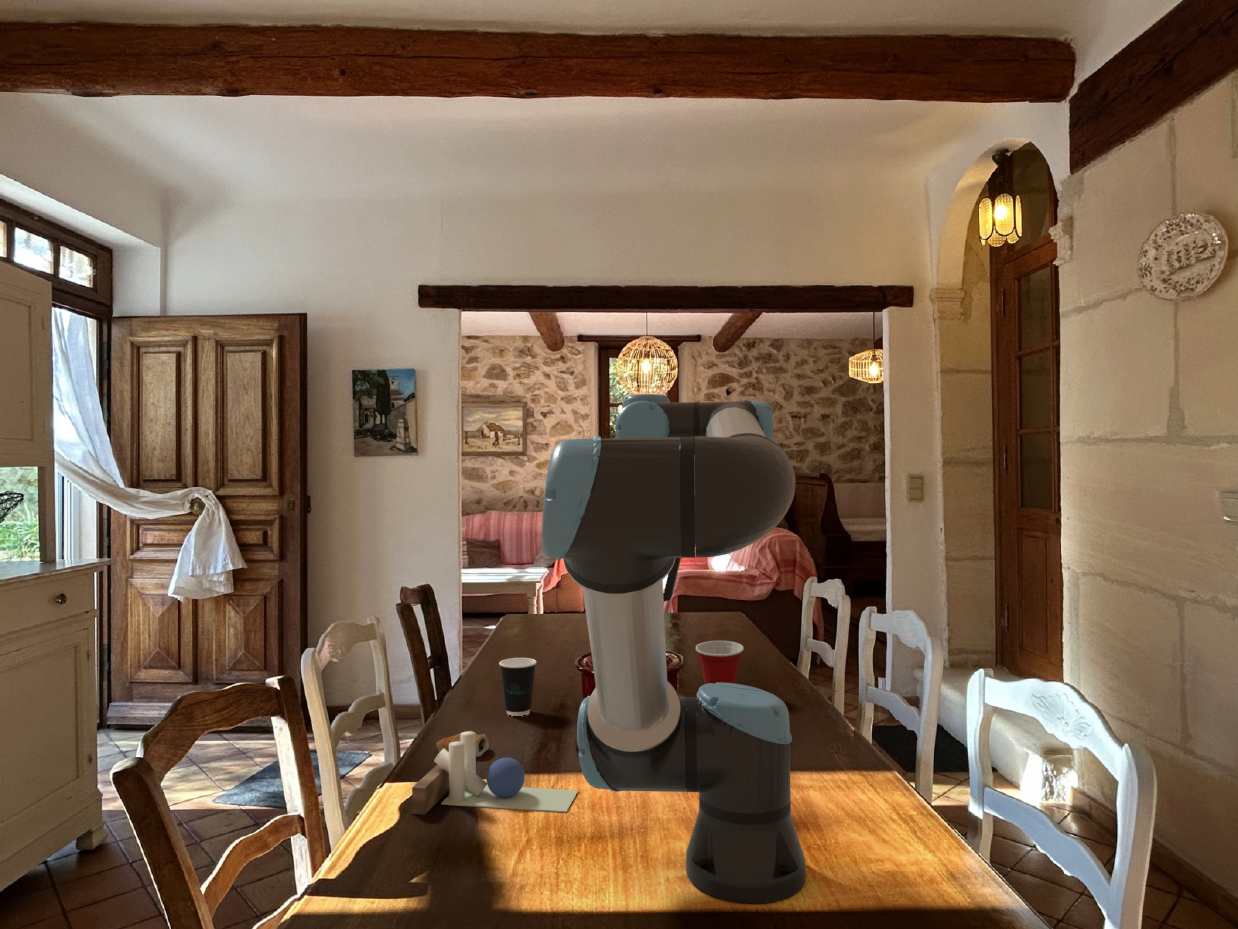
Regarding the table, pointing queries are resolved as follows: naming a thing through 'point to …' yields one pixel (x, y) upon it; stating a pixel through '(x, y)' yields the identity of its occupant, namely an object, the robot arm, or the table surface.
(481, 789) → the pin front
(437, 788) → the wall
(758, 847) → the robot arm
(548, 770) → the table surface
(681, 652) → the table surface
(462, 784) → the pin rear right
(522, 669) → the dixie cup
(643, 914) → the table surface
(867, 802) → the table surface
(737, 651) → the plastic cup
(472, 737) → the pin rear left
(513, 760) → the ball
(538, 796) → the strip
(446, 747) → the pastry
